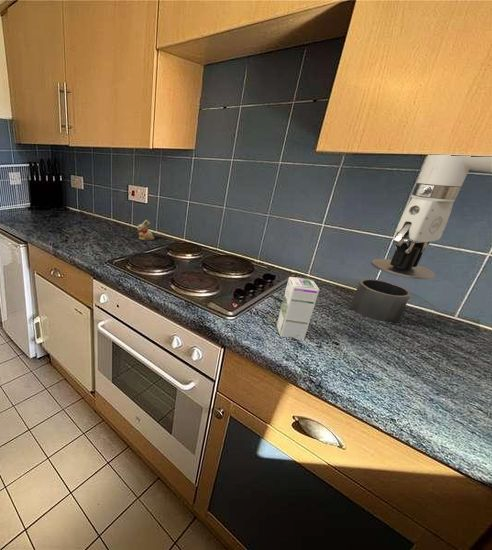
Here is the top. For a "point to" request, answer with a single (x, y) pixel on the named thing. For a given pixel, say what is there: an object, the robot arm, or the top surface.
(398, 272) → the canister lid
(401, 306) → the canister
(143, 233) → the chocolate bunny
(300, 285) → the syrup box
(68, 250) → the top surface
